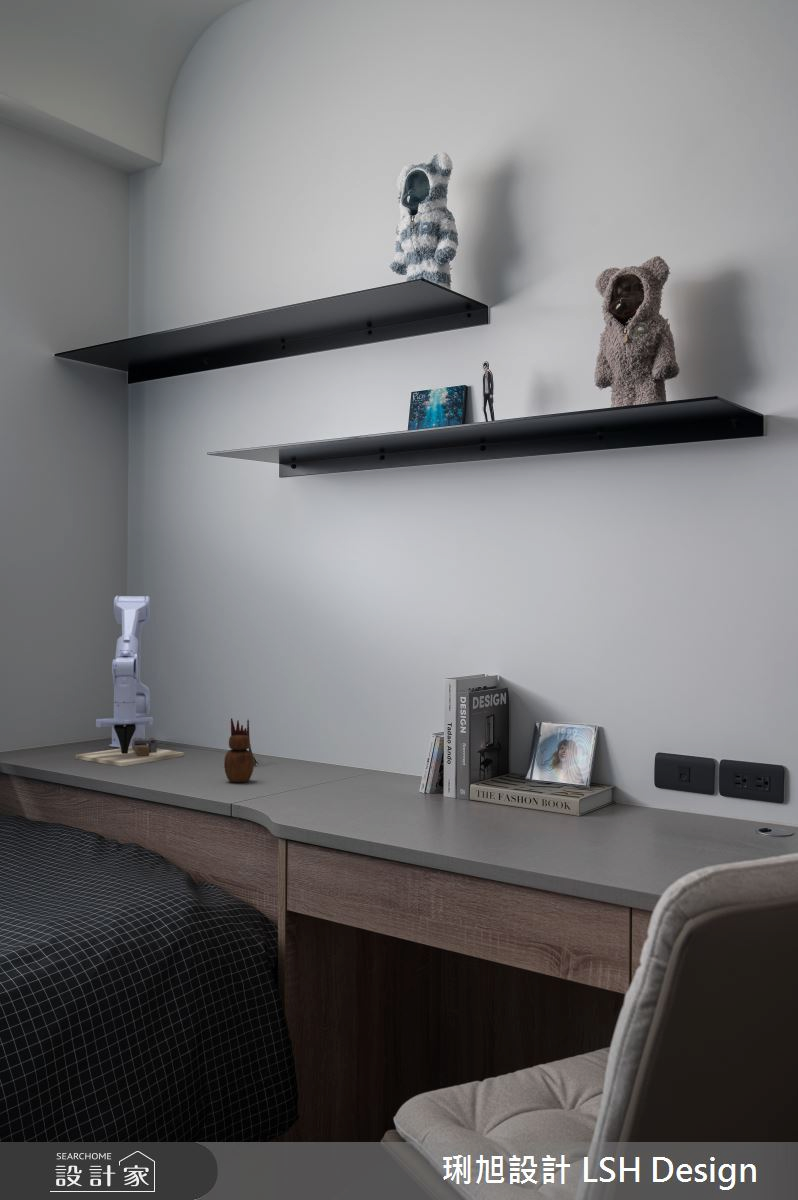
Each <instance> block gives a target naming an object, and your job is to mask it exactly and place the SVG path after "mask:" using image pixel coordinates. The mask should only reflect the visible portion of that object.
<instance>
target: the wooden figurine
mask: <svg viewBox="0 0 798 1200" xmlns="http://www.w3.org/2000/svg"><path fill="white" fill-rule="evenodd" d="M249 737H250V736H249ZM249 737H248V736H247V727H245V728H244V725H243V724H241V726H240V722H239V720H237V722H236V727H235V723H234V721H233V718H230V737H229V739H228V746H229V747H228V748H229V749H230V750H228V751H227V752H226V753H225V756H224V760H223V761H224V763H223V764H224V767H223V768H224V772H225V776H226V778H227V780H228V781H229V782H231V783H234V782H243V783H246V782H248V781H250V779H251V777H252V774H253V772H254V768H255V767H254V757H255V756H254V754H253V755H252V753H253V752H252V753H251V752H250V751H249V749H248V748H249V745H251V739H250V740H249ZM246 749H247V750H246ZM253 756H254V757H253Z"/></svg>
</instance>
